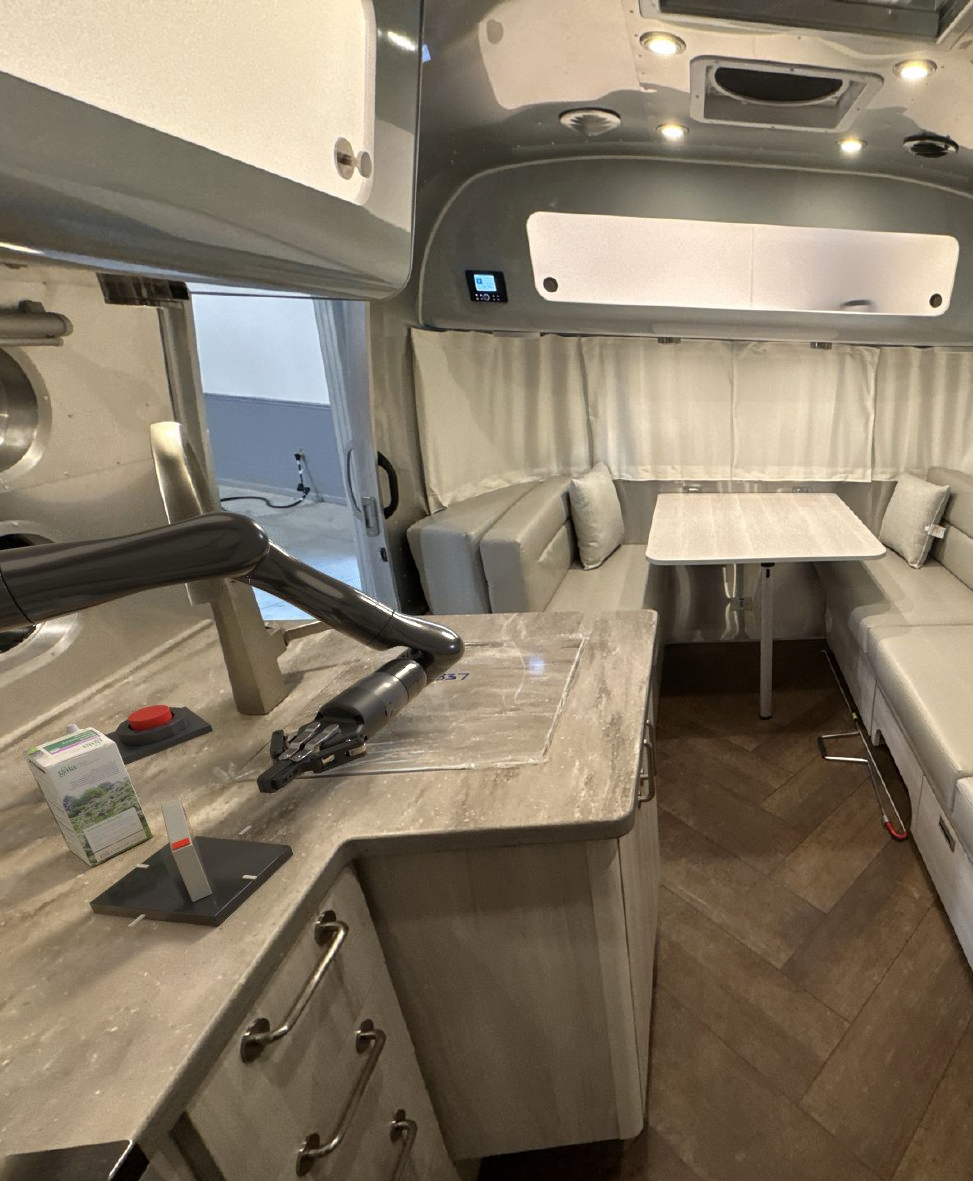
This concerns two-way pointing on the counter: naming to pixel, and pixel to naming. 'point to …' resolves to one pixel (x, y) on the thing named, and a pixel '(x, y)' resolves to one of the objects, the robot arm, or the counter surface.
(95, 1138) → the counter surface
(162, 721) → the power button
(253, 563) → the robot arm
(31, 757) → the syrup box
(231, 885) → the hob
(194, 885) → the gray battery pack
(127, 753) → the black button base
